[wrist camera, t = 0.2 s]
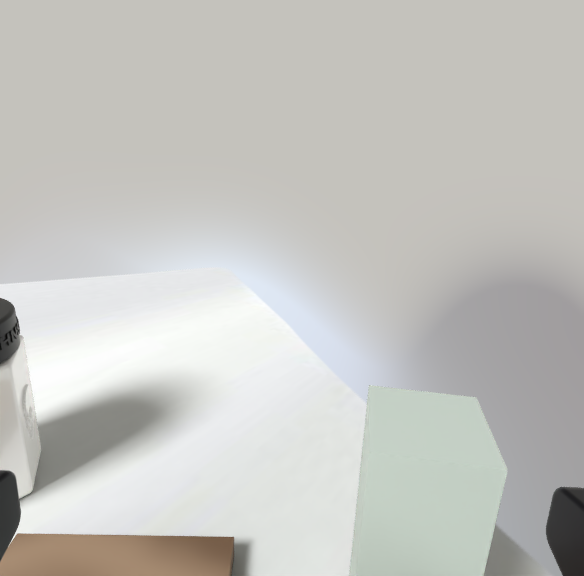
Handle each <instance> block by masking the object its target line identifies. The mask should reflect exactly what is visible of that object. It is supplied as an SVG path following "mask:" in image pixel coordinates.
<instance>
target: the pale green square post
mask: <svg viewBox="0 0 584 576" xmlns="http://www.w3.org/2000/svg"><path fill="white" fill-rule="evenodd" d="M507 471H508V470H507V467H506V465H505V463H504V461H503V458H502V456H501V453H500V452H499V449H498V447H497V444H496V442H495V440H494V437H493V435H492V433H491V430H490V428H489V426H488V423H487V421H486V419H485V417H484V414H483V412H482V410H481V407H480V405H479V403H478V400H477V398H476V397H467V396H458V395H449V394H441V393H431V392H424V391H423V392H422V391H414V390H405V389H397V388H387V387H379V386H371V385H369V390H368V399H367V409H366V419H365V428H364V438H363V447H362V457H361V467H360V476H359V486H358V496H357V505H356V515H355V525H354V534H353V544H352V553H351V563H350V573H349V576H484V572H485V568H486V563H487V559H488V555H489V550H490V546H491V541H492V537H493V533H494V528H495V524H496V519H497V515H498V511H499V506H500V501H501V497H502V493H503V489H504V484H505V480H506V476H507Z"/></svg>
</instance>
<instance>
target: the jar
mask: <svg viewBox="0 0 584 576" xmlns="http://www.w3.org/2000/svg"><path fill="white" fill-rule="evenodd" d="M19 334H20V328H19V322H18V319H17V316H16V313H15V308H14V306H13V304H12V303H10V302H9V301H7V300H5V299H2V298H0V470H9V471H11V472H13V473H14V474H15V476H16V480H17V487H18V494H19V499H20V498H22V497H24V496H26V495H28V494H29V493H31V492H32V490H33V487H34V482H35V477H36V472H37V468H38V463H39V458H40V453H41V443H40V436H39V430H38V424H37V418H36V412H35V405H34V399H33V393H32V387H31V381H30V374H29V368H28V362H27V356H26V350H25V343H24V338H23V336H21V335H19Z"/></svg>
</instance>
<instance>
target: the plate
mask: <svg viewBox="0 0 584 576" xmlns="http://www.w3.org/2000/svg"><path fill="white" fill-rule="evenodd" d="M233 557H234V537H199V536H137V535H76V534H17V535H16V536H15V538H14V539H13V541H12V542H11V544H10V545H9V547H8V548H7V550H6V552H5V554H4V556H3V558H2V560H1V562H0V576H231V573H232V565H233Z"/></svg>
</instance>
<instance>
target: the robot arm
mask: <svg viewBox="0 0 584 576" xmlns="http://www.w3.org/2000/svg"><path fill="white" fill-rule="evenodd" d="M20 517H21V509H20V502H19V494H18V487H17V480H16V476H15V474H14V473H13V472H11V471H9V470H0V562H1V560H2V558H3V556H4V554H5V552H6V550H7V548H8V546H9V544H10V542H11V540H12V538H13V536H14V534H15V532H16V530H17V528H18V525H19V522H20ZM546 535H547V540H548V543H549V546H550V548H551V550H552V553H553V555H554V557H555V559H556V562H557V564H558V566H559V568H560V571H561V572H562V575H563V576H584V488H576V487H560V488H558V489H556V490H555V492H554V494H553V498H552V502H551V507H550V511H549V516H548V520H547V525H546Z"/></svg>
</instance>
